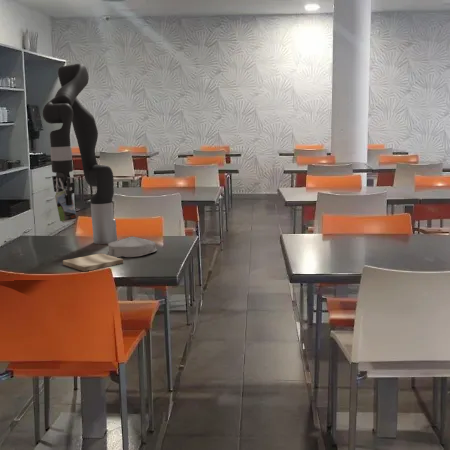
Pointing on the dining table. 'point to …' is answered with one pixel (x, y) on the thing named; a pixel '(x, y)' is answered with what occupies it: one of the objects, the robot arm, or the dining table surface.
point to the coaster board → (92, 262)
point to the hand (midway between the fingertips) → (65, 204)
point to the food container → (131, 247)
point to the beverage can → (65, 208)
